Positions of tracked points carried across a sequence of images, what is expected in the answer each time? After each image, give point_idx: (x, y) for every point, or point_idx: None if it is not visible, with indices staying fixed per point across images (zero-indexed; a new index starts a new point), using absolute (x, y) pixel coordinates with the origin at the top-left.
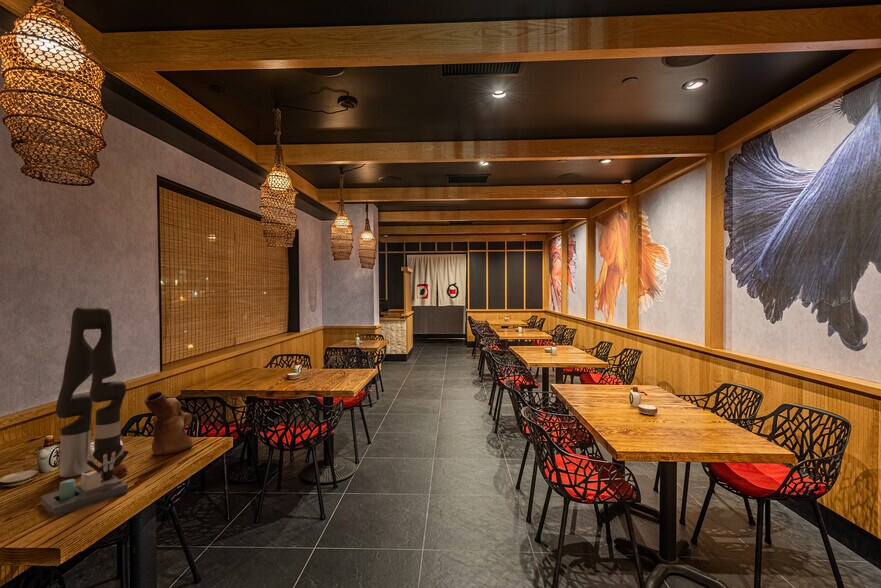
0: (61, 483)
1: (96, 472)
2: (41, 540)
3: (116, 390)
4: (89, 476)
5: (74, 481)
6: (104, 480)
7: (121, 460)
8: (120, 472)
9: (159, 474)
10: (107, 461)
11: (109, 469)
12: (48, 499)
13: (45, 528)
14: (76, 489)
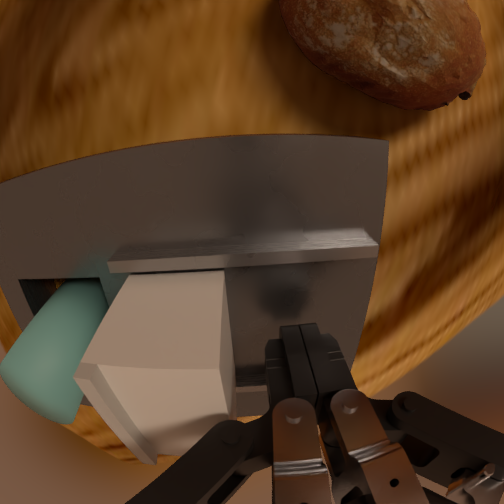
0: (13, 389)
1: (218, 418)
2: (97, 440)
3: None
4: (160, 443)
5: (74, 417)
6: (279, 335)
7: (426, 454)
8: (437, 106)
9: (486, 266)
10: (356, 473)
11: (319, 437)
12: (9, 290)
13: (83, 410)
14: (104, 261)
